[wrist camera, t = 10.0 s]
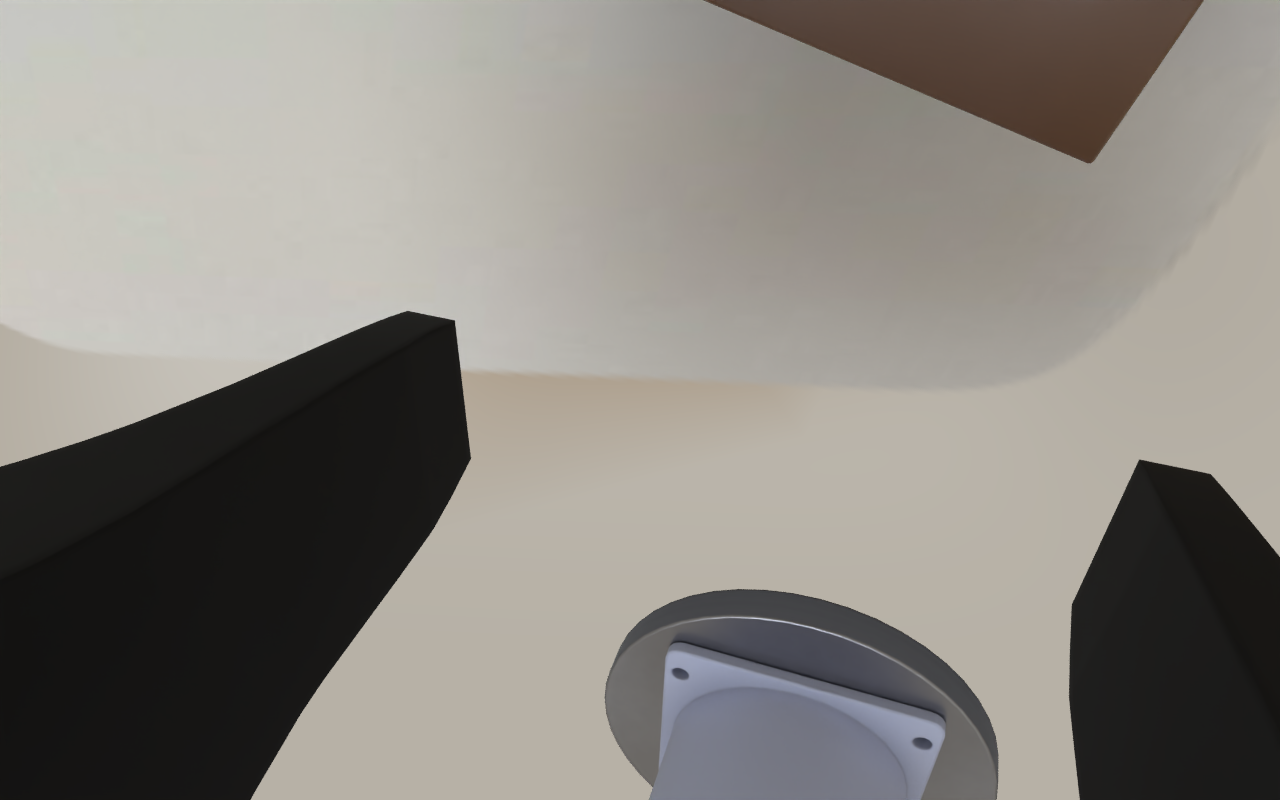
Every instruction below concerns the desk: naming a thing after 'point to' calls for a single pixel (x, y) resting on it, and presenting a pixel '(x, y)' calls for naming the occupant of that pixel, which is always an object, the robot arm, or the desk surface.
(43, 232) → the desk surface
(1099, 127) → the shelf
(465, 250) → the desk surface
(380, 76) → the desk surface
